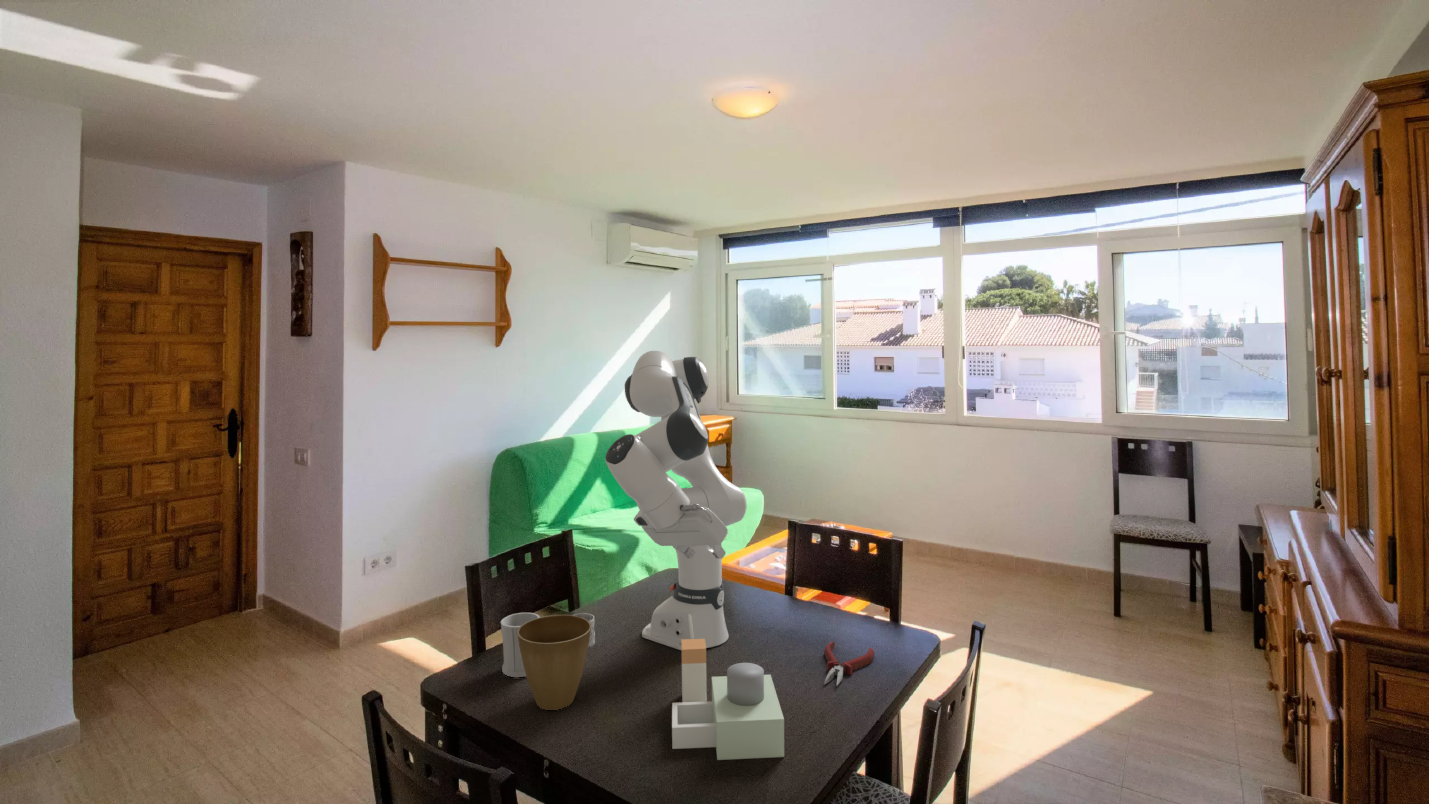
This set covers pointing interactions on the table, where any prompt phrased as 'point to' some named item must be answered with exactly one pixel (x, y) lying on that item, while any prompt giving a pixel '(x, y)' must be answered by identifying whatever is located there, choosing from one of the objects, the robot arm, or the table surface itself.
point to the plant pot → (554, 657)
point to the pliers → (844, 663)
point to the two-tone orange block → (694, 670)
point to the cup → (513, 643)
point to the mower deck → (733, 717)
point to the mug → (591, 620)
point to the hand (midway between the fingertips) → (706, 556)
